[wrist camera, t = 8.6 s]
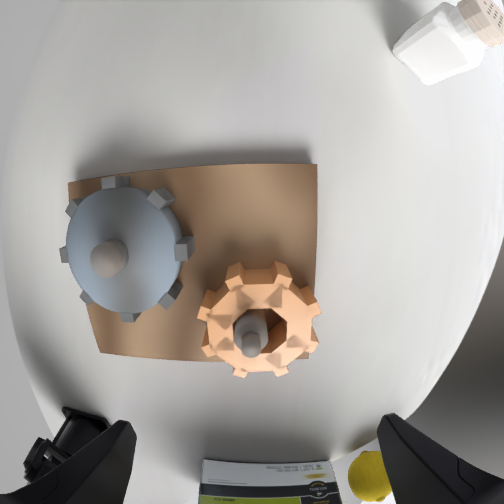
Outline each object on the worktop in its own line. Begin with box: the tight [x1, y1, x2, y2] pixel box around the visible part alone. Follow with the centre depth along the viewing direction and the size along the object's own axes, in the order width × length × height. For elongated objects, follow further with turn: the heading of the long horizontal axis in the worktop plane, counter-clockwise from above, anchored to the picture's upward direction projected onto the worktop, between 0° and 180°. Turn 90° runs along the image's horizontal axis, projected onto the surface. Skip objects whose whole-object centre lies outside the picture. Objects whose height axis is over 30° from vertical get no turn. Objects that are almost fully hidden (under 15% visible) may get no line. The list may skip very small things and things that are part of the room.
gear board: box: [59, 164, 317, 362], centre depth 15 cm, size 16×13×5 cm
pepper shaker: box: [393, 0, 504, 85], centre depth 9 cm, size 4×4×10 cm
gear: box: [197, 260, 322, 378], centre depth 16 cm, size 7×7×2 cm
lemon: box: [348, 451, 392, 502], centre depth 20 cm, size 6×6×8 cm
